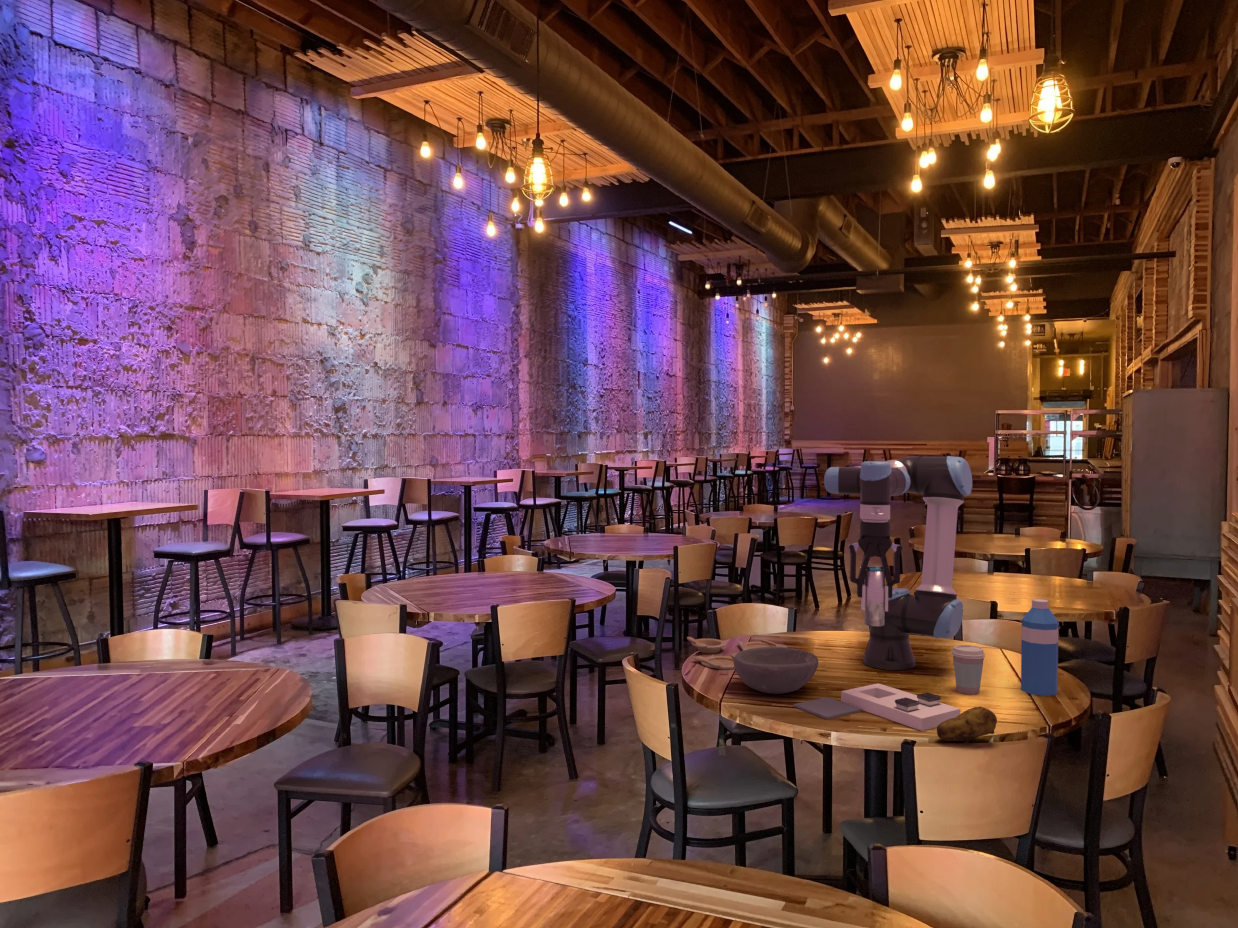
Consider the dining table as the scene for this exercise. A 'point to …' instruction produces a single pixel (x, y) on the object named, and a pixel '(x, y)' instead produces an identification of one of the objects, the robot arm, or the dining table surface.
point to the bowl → (775, 668)
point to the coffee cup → (968, 668)
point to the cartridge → (874, 596)
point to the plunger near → (907, 704)
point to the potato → (968, 725)
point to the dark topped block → (928, 699)
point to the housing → (883, 704)
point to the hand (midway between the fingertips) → (874, 609)
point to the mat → (827, 708)
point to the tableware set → (715, 646)
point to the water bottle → (1039, 650)
